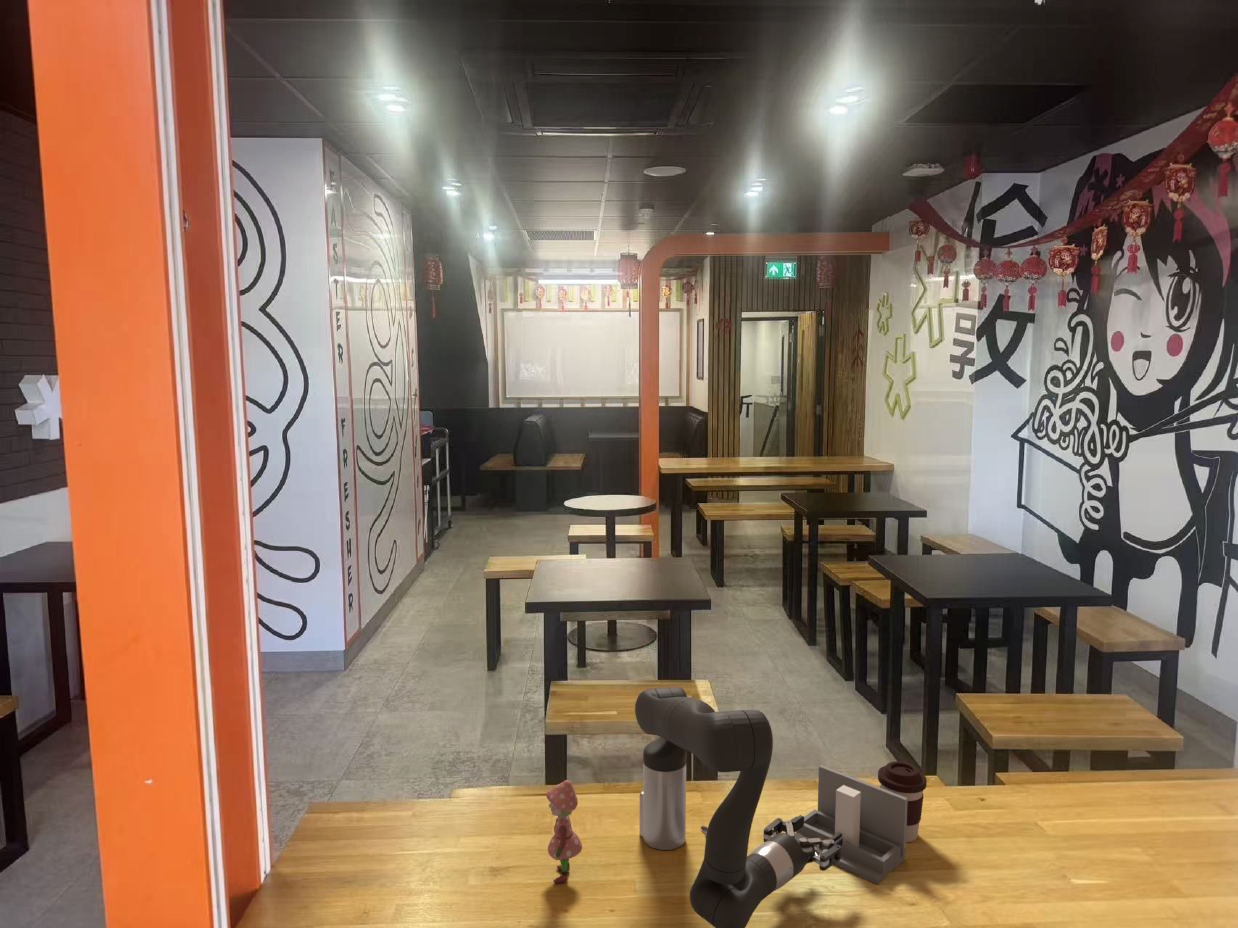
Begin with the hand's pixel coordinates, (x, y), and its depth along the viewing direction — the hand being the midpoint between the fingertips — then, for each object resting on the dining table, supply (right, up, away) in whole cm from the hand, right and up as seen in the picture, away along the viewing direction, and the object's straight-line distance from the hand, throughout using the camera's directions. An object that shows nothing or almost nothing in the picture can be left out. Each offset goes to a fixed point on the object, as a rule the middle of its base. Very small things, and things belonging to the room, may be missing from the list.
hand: (821, 828), depth 156 cm
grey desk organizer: (+7, -9, +8) cm, 14 cm away
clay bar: (+7, -7, +8) cm, 13 cm away
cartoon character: (-51, -10, -1) cm, 52 cm away
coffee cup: (+21, -8, +14) cm, 27 cm away
